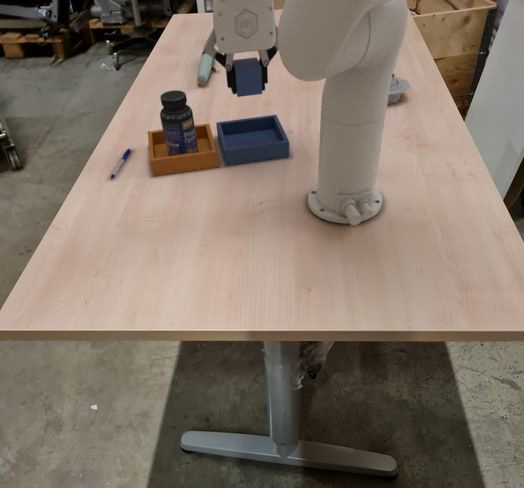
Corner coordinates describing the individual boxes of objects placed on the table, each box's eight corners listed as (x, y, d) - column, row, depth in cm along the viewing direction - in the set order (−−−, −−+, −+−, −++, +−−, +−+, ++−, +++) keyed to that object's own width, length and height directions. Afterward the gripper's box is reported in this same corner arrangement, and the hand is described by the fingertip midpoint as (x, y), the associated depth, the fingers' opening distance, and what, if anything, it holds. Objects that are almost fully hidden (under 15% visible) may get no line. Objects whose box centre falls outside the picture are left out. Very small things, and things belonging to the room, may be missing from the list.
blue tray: (289, 157, 94) (289, 141, 91) (225, 166, 93) (223, 150, 90) (276, 129, 101) (276, 114, 99) (217, 137, 100) (216, 122, 98)
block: (262, 94, 88) (261, 66, 84) (237, 97, 87) (235, 69, 84) (257, 84, 91) (256, 57, 87) (233, 87, 90) (231, 60, 87)
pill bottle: (193, 162, 93) (183, 103, 85) (163, 160, 94) (151, 102, 86) (202, 146, 97) (193, 88, 88) (173, 145, 98) (162, 87, 89)
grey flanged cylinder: (385, 47, 95) (428, 38, 97) (360, 33, 101) (400, 24, 103) (376, 111, 105) (416, 101, 107) (354, 94, 111) (391, 85, 113)
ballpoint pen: (127, 152, 99) (126, 147, 98) (131, 152, 98) (130, 147, 98) (110, 179, 92) (109, 174, 91) (115, 179, 92) (113, 174, 91)
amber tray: (218, 167, 93) (216, 151, 90) (153, 176, 92) (149, 160, 89) (211, 138, 100) (209, 123, 98) (151, 146, 99) (147, 131, 97)
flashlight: (214, 80, 116) (221, 49, 129) (197, 71, 114) (205, 41, 127) (209, 92, 118) (216, 61, 131) (192, 84, 117) (201, 53, 129)
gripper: (188, -22, 72) (204, 103, 86) (298, -34, 73) (297, 92, 87) (184, -35, 76) (200, 87, 90) (287, -45, 78) (288, 76, 92)
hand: (247, 88), depth 89 cm, fingers closed on block, 4 cm apart
